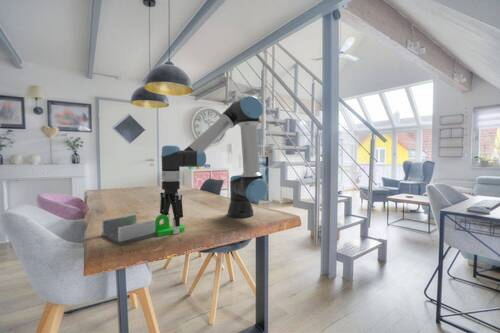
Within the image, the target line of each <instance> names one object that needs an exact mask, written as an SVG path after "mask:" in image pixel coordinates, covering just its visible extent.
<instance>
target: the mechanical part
mask: <svg viewBox="0 0 500 333" xmlns="http://www.w3.org/2000/svg"><path fill="white" fill-rule="evenodd" d="M163 219H164V220H165V222H164V224H163V223H162V224H161V223H160V222H161V220H163ZM154 221H155V235H157V237H158V238H159V237H164V236H169V235H174V234H173V225H172V226H170V217H169V218H168V217H167V216H165V215H162V214H159V215H158V216H156V218H155V220H154ZM179 232H180V233H179V234H181V233H184V232H185V226H184V224H180V226H179Z"/></svg>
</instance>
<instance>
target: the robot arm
mask: <svg viewBox="0 0 500 333" xmlns="http://www.w3.org/2000/svg"><path fill="white" fill-rule="evenodd" d="M263 112H264V106H263V104H262V102H261V100H260V99H259V98H258V97H256V96H255V95H247V96H243V97H242V98H241V99H238V100H236V101H234V102H233V103H232V104H230V105H229V106H228V107H227V109H225V110H224V111H223V113H221V114H220V116H219V118H218V119H217V120H216V121H215V122H214V123H213V124H212V125H210V126H209V127H208V128H207V129H206V130H205V131H204V132H202V133H201V134H200V135H199V136H198V137H197V138H196V139H195V140H194V141H193V142H191V143H190V144H189V145H188V146H187V147H186V148H184V149H183V150H181V149H180V146H178V145H163V146H162V148H161V156H160V157H161V180H162V181H161V190H163V192H160V194H159V195H160V204H159V206H160V207H159V215H165V216H167V217H168V218H169V219H170V213H169V212H170V208H171V209H172V214H173V218H172V226H173V234H172V235H177V234H181V233H180V232H179V226H180V225H181V223H180V221H181V220H180V219H182V218H183V217H184V211H183V210H184V209H183V194H179V193H178V192H179V191H178V190H179V189H180V187H181V186H180V184H181V183H180V181H179V180H180V179H181V177H180V176H181V173H180V172H181V171H180V169H181V168H199V167H200V168H201V167H204V166H205V165H206V162H207V154H206V152H205V151H207V150H208V148H210V147H211V146H212V145H213V144H214V143H215V142H217V141H218V139H219V138H220V137H222V136H223V135H224V134H226V132H227V131H228V130H229V129H233V128H234V127H235V126H237V125H238V126H239V127H240V134H241V135H240V137H241V152H242V153H241V154H242V155H241V157H242V171H243V172H242V174H238V175H232V176H231V177H230V180H229V186H230V187H229V188H230V202H229V205H228V209H227V216H228V217H230V218H239V219H240V218H248V217H252V216H253V215H254V209H253V206H252V202H259V201H261V200H263V199H264V198H265V196H266V195H267V193H268V184H267V183H266V181H265V180H264V179H263V178H264V177H263V173H261V171H260V160H259V158H260V157H259V156H260V155H259V140H258V125H259V124H260V117H261V116H262V115H263ZM164 222H165V220H164V219H162V224H164Z"/></svg>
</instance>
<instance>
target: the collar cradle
mask: <svg viewBox="0 0 500 333" xmlns="http://www.w3.org/2000/svg"><path fill="white" fill-rule="evenodd" d="M100 224H101V236H102V237H103V238H106V239H108V240H109V239H110V240H109V241H112V242H113V243H115V244H117V245H119V246H124V245H127V244H131V243H135V242H139V241H142V240H146V239H149V238H154V237H156V233H155V220H152V219H151V220H148V221H141V222H137V214H135V213H134V214H129V215H125V216H119V217H113V218H108V219H102V220H101V223H100Z"/></svg>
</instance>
